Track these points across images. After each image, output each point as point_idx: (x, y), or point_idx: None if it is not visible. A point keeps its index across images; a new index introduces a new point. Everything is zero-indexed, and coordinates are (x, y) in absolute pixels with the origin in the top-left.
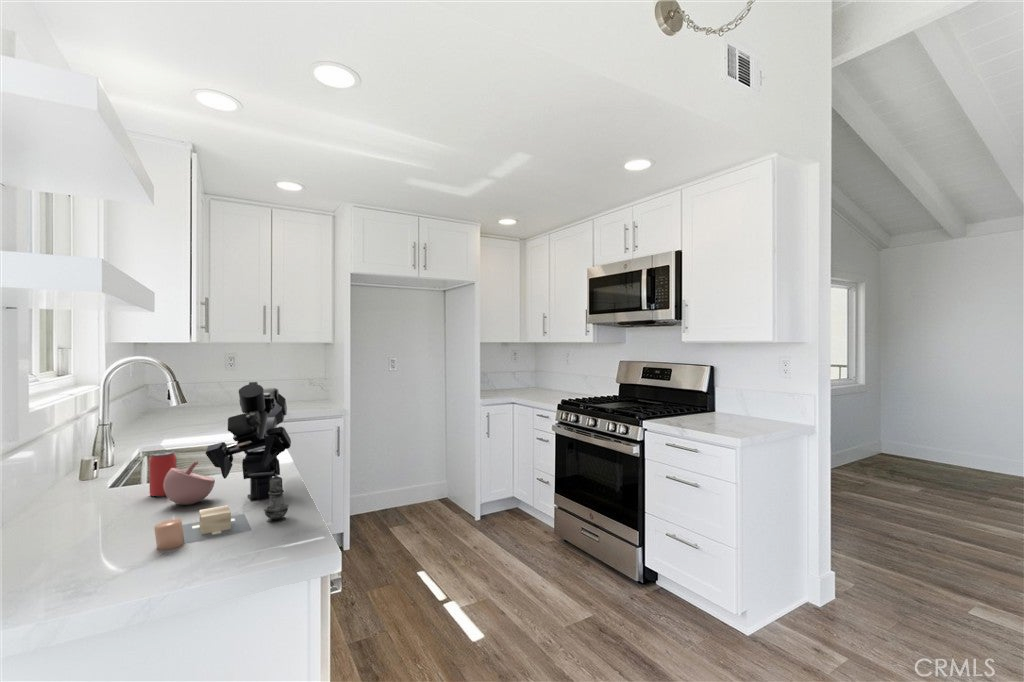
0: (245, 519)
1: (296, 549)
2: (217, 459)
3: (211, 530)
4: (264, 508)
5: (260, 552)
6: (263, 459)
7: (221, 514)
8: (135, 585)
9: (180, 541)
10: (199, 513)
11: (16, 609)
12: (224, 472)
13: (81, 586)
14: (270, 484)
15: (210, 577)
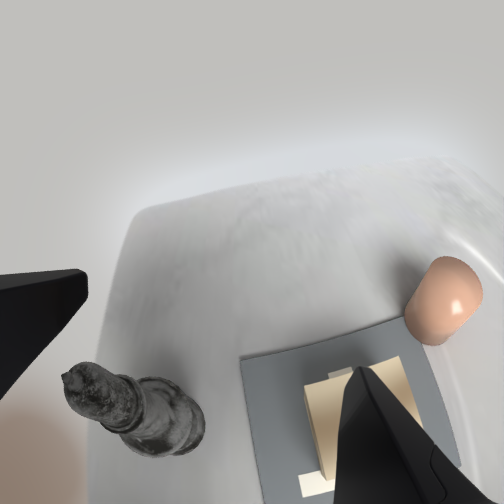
0: (264, 474)
1: (168, 236)
2: (490, 500)
3: None
4: (187, 417)
5: (226, 240)
6: (51, 275)
7: (335, 377)
8: (396, 188)
9: (409, 301)
10: None
11: (481, 181)
12: (363, 382)
13: (464, 205)
14: (116, 384)
15: (297, 184)
